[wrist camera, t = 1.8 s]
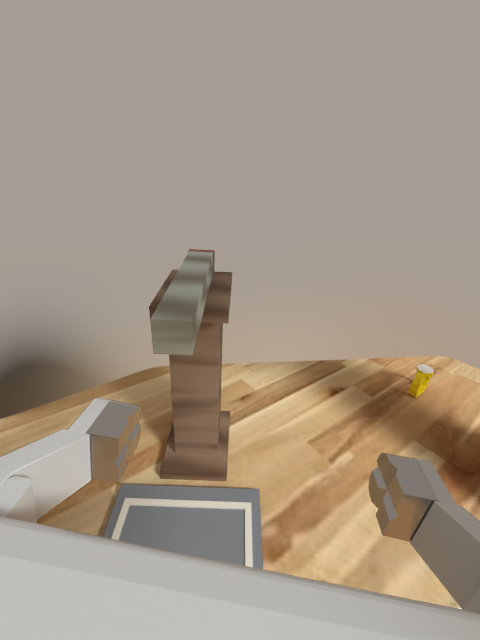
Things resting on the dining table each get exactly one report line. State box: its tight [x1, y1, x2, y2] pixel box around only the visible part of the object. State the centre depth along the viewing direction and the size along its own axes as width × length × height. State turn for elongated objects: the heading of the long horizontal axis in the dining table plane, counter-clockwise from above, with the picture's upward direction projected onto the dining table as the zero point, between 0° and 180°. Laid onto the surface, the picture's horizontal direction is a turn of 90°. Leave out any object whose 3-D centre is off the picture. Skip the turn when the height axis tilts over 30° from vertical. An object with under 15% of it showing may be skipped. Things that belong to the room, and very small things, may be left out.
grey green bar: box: [150, 249, 214, 355], centre depth 33 cm, size 20×3×3 cm, turn 0°
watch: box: [409, 365, 434, 398], centre depth 62 cm, size 6×3×6 cm, turn 131°
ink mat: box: [103, 484, 263, 569], centre depth 31 cm, size 24×18×1 cm
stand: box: [149, 270, 232, 481], centre depth 43 cm, size 12×9×26 cm
